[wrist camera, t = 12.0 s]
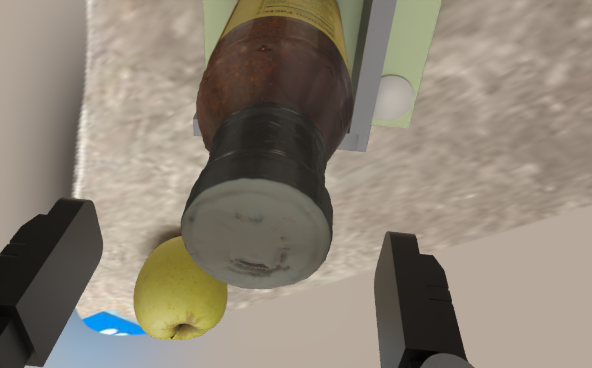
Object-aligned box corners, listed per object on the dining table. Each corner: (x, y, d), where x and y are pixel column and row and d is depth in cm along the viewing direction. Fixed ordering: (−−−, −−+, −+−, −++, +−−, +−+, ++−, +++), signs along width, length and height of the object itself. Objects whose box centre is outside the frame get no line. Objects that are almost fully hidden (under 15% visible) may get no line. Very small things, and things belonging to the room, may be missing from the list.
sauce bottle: (293, 84, 31) (259, 352, 15) (216, 19, 29) (83, 257, 13) (366, 10, 28) (419, 251, 12) (287, -70, 26) (224, 101, 10)
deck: (464, -110, 25) (492, -97, 21) (406, 119, 34) (417, 160, 29) (202, -137, 25) (177, -129, 21) (210, 100, 33) (194, 139, 29)
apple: (118, 240, 41) (109, 330, 33) (205, 208, 41) (217, 289, 33) (156, 297, 46) (157, 388, 38) (234, 268, 46) (251, 352, 38)
